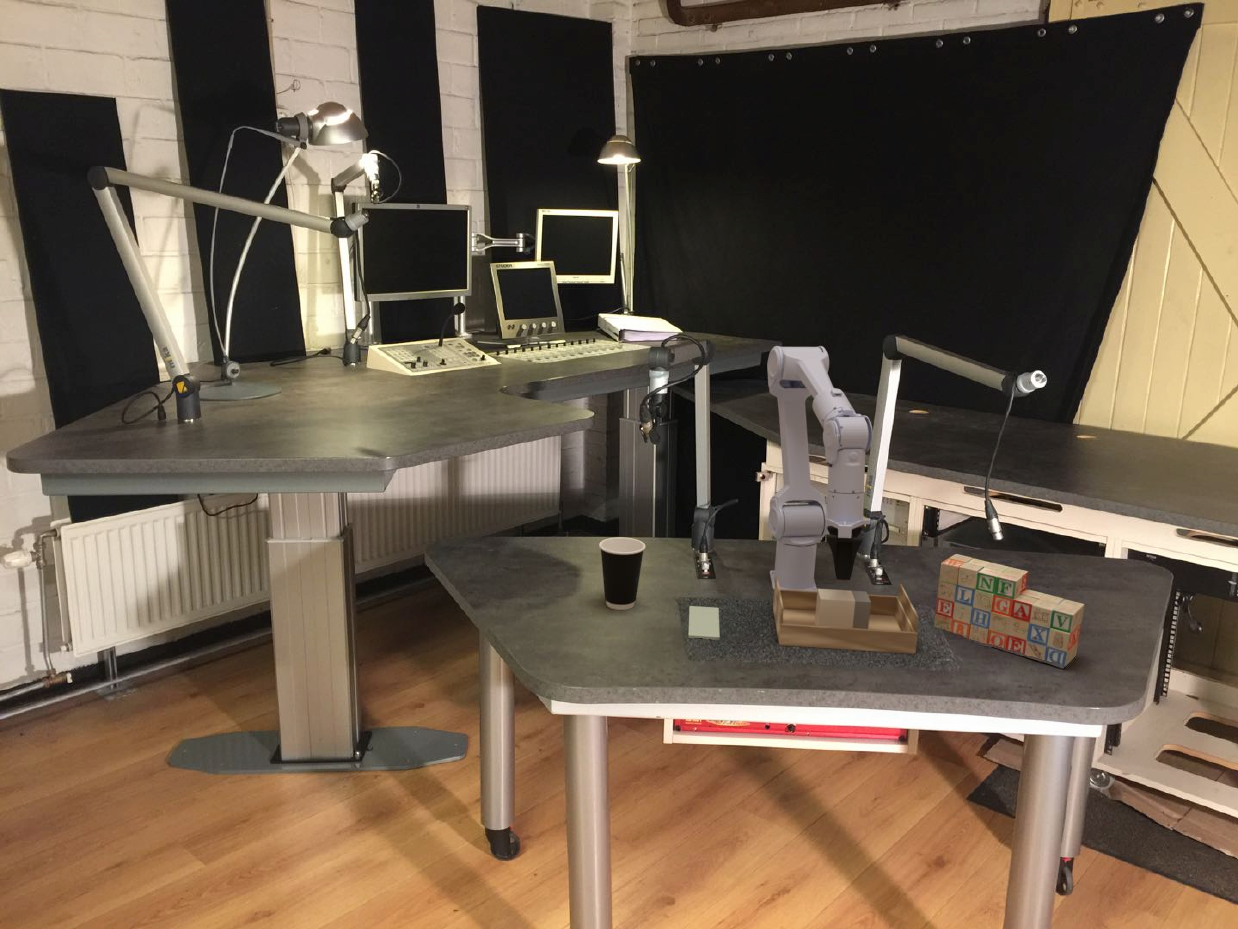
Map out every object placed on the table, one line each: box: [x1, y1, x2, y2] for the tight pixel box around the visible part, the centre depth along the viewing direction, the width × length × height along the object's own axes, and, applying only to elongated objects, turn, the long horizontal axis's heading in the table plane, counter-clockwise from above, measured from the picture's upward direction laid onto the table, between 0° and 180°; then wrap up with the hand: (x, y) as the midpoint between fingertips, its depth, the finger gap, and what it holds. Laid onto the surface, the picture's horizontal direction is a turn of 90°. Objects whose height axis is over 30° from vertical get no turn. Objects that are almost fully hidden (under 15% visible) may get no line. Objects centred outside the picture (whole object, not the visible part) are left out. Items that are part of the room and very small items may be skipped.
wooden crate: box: [772, 576, 919, 655], centre depth 164 cm, size 15×21×6 cm
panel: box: [687, 605, 721, 641], centre depth 166 cm, size 12×12×1 cm
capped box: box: [815, 588, 871, 629], centre depth 163 cm, size 4×8×6 cm, turn 85°
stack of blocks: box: [933, 553, 1085, 666], centre depth 161 cm, size 21×6×12 cm, turn 49°
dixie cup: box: [598, 536, 646, 611], centre depth 171 cm, size 8×8×11 cm
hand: (843, 574), depth 161 cm, fingers open, 7 cm apart
